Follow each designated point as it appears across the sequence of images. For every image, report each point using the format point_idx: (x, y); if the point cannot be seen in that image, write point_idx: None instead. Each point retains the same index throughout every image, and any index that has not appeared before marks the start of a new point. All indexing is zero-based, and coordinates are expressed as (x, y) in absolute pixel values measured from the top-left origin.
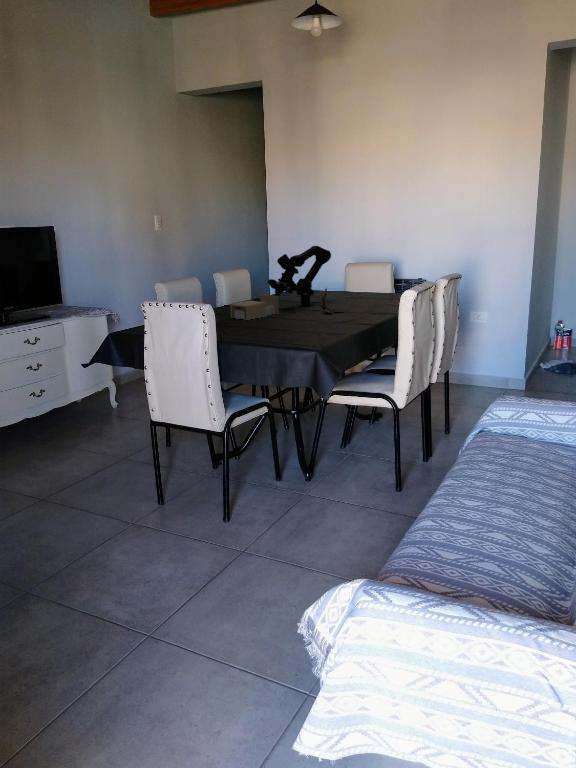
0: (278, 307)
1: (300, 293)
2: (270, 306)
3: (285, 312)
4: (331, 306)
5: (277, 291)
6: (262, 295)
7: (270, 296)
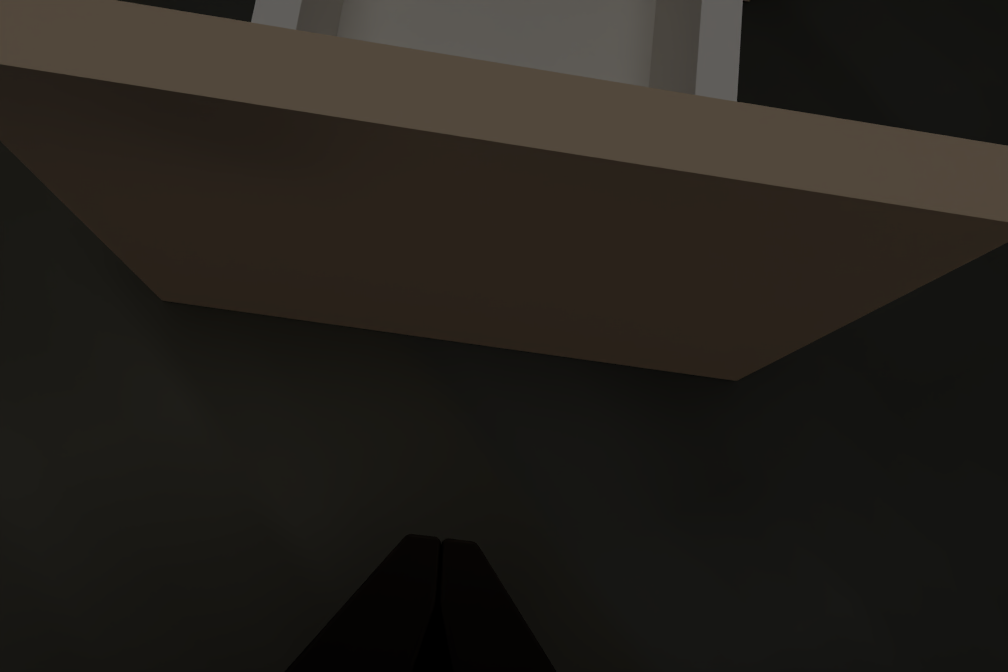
0: (105, 236)
1: None
2: (253, 17)
3: (141, 606)
4: None
5: (341, 665)
6: (872, 135)
7: (376, 62)
